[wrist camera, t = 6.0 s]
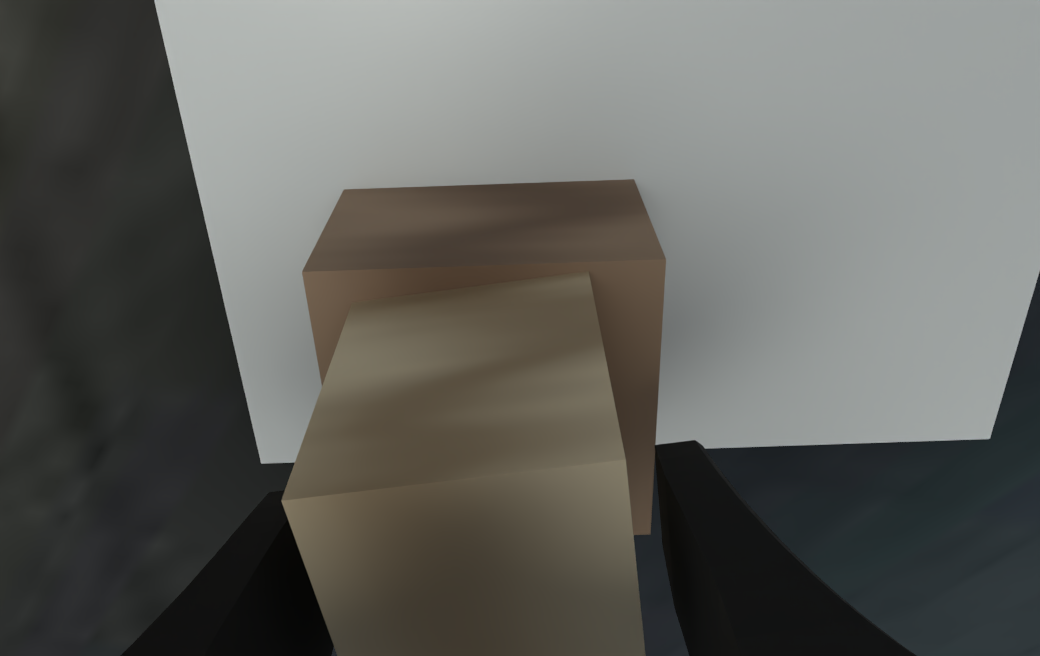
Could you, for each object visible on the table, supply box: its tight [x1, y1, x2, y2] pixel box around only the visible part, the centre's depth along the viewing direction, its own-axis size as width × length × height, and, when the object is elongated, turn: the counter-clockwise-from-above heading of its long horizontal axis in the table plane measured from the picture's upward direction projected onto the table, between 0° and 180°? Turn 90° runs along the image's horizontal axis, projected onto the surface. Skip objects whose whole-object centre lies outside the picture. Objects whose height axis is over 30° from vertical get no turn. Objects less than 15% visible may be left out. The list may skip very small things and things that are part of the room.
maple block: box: [281, 271, 645, 656], centre depth 13 cm, size 4×4×5 cm
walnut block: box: [302, 179, 666, 535], centre depth 17 cm, size 6×6×4 cm
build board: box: [154, 0, 1040, 464], centre depth 17 cm, size 18×16×1 cm
